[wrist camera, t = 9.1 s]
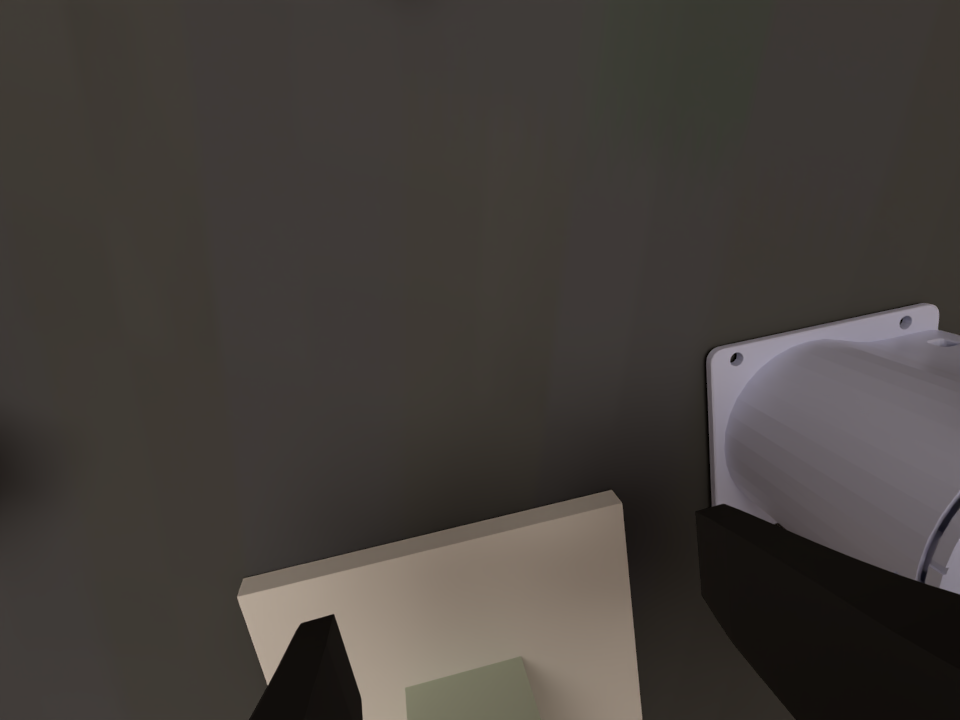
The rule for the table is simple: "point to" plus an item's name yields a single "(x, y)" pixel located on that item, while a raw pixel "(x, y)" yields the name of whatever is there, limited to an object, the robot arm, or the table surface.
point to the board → (474, 617)
